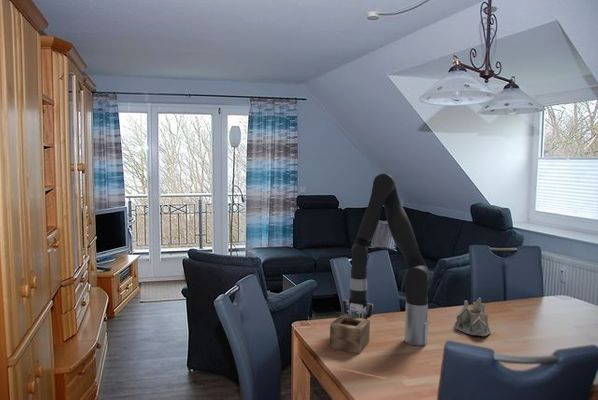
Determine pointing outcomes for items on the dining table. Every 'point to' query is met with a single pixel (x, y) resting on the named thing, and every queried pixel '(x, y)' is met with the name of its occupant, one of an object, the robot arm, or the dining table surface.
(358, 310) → the syrup box
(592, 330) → the dining table surface
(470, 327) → the ceramic cottage
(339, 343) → the box
